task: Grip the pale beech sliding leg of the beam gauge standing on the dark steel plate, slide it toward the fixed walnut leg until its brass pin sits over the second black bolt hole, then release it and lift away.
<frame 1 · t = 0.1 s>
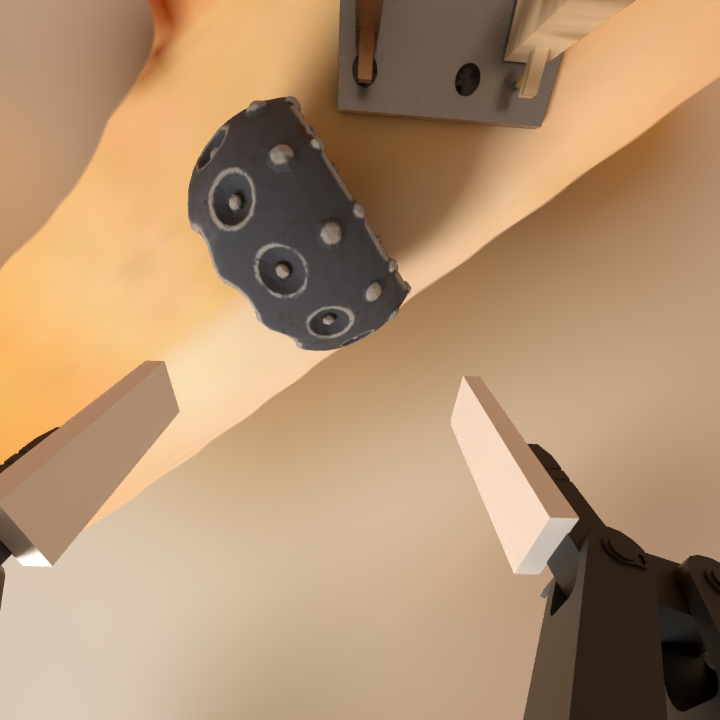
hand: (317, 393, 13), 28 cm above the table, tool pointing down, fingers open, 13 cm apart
dark studded bowl: (323, 231, 36), on the table
sliding leg: (562, 18, 22), point 7 cm above the table, slide at 6.5 cm
gauge: (454, 48, 28), on the table
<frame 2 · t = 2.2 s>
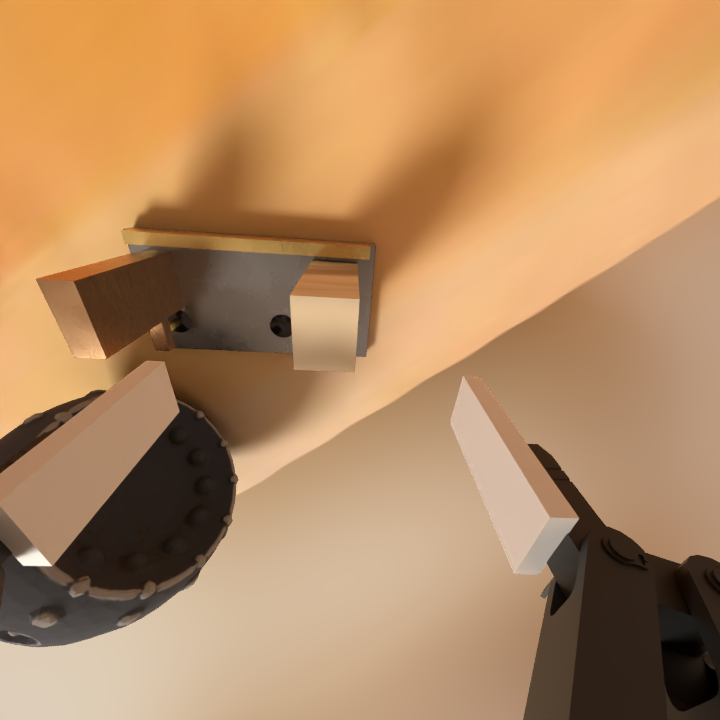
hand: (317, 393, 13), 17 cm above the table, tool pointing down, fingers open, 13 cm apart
dark studded bowl: (179, 422, 36), on the table
sliding leg: (329, 326, 23), point 6 cm above the table, slide at 6.5 cm
gauge: (267, 296, 28), on the table
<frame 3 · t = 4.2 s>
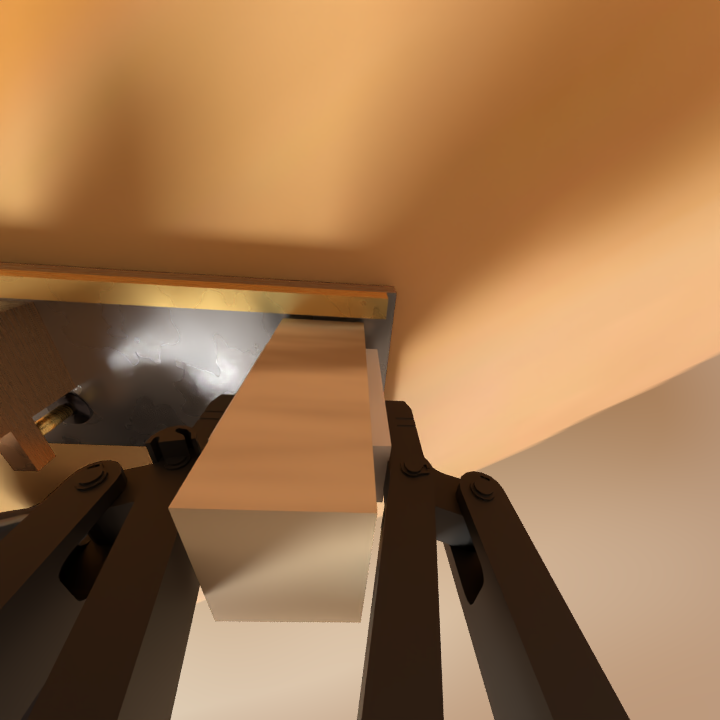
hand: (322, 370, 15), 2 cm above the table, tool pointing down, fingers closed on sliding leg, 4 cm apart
dark studded bowl: (105, 526, 25), on the table
sliding leg: (311, 456, 12), point 7 cm above the table, slide at 6.5 cm, touching gripper
gauge: (216, 367, 17), on the table
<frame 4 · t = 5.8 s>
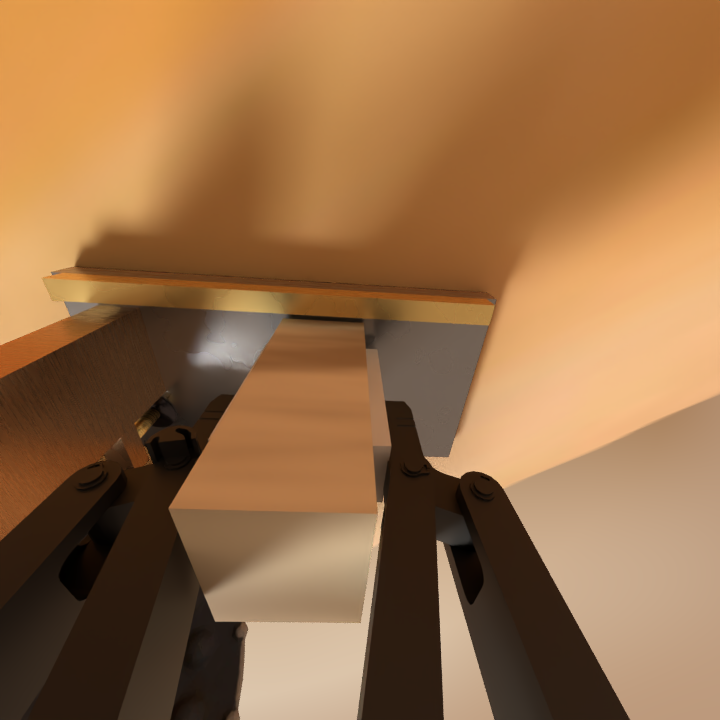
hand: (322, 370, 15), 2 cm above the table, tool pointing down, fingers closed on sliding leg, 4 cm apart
dark studded bowl: (164, 528, 25), on the table
sliding leg: (311, 456, 12), point 7 cm above the table, slide at 1.5 cm, touching gripper
gauge: (300, 371, 17), on the table
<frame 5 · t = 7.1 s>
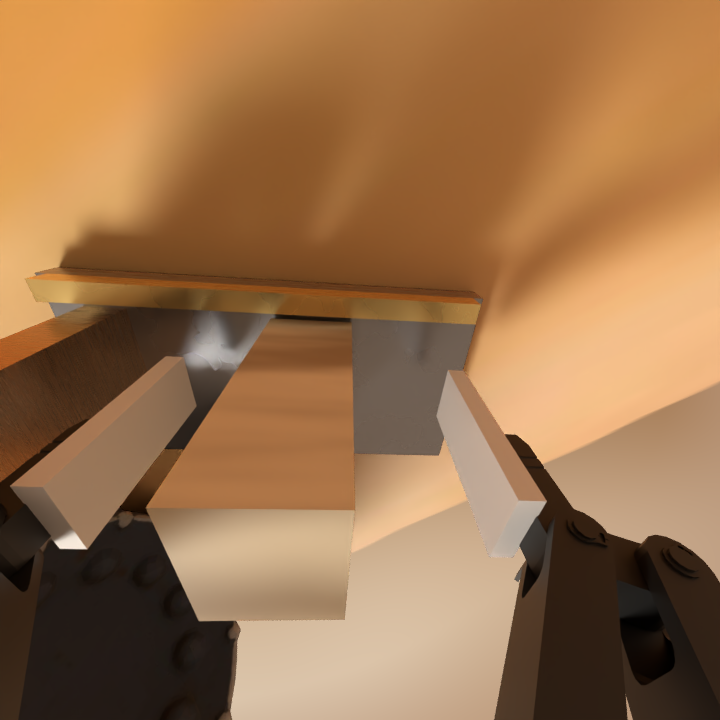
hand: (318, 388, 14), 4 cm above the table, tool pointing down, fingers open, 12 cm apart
dark studded bowl: (155, 530, 25), on the table
sliding leg: (299, 455, 12), point 6 cm above the table, slide at 1.5 cm
gauge: (290, 371, 18), on the table
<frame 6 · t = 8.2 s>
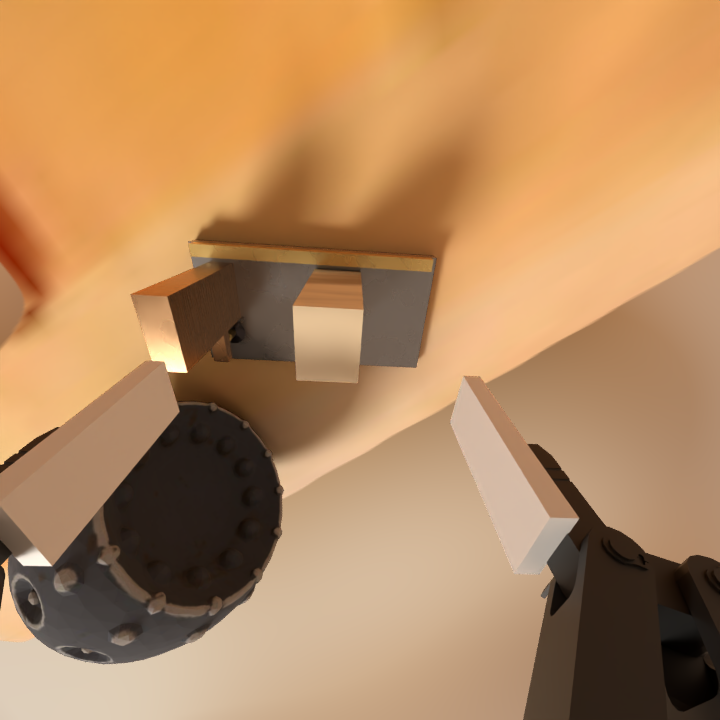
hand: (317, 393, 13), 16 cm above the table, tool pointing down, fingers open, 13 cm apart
dark studded bowl: (221, 432, 36), on the table
sliding leg: (332, 336, 23), point 6 cm above the table, slide at 1.5 cm
gauge: (321, 307, 28), on the table
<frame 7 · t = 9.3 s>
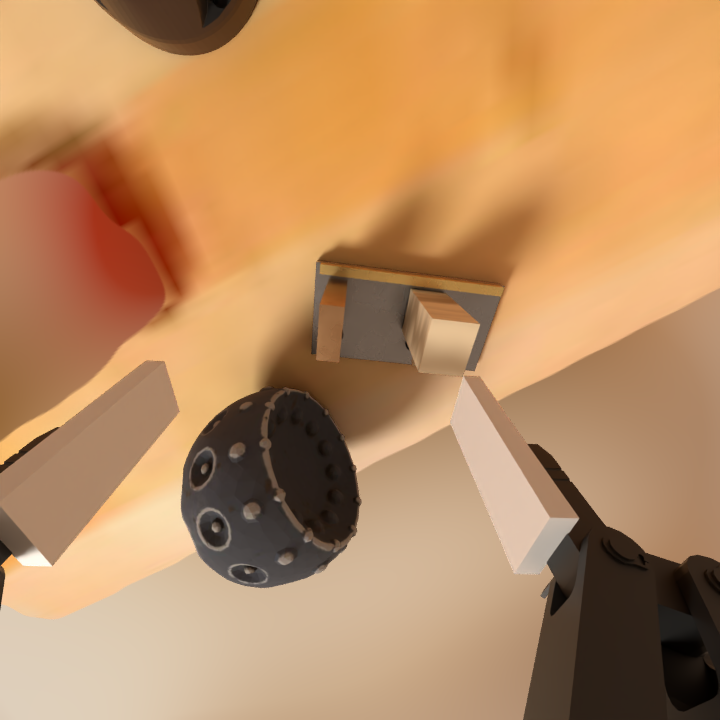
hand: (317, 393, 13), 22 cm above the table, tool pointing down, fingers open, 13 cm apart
dark studded bowl: (298, 418, 42), on the table
sliding leg: (430, 341, 29), point 7 cm above the table, slide at 1.5 cm
gauge: (405, 318, 35), on the table
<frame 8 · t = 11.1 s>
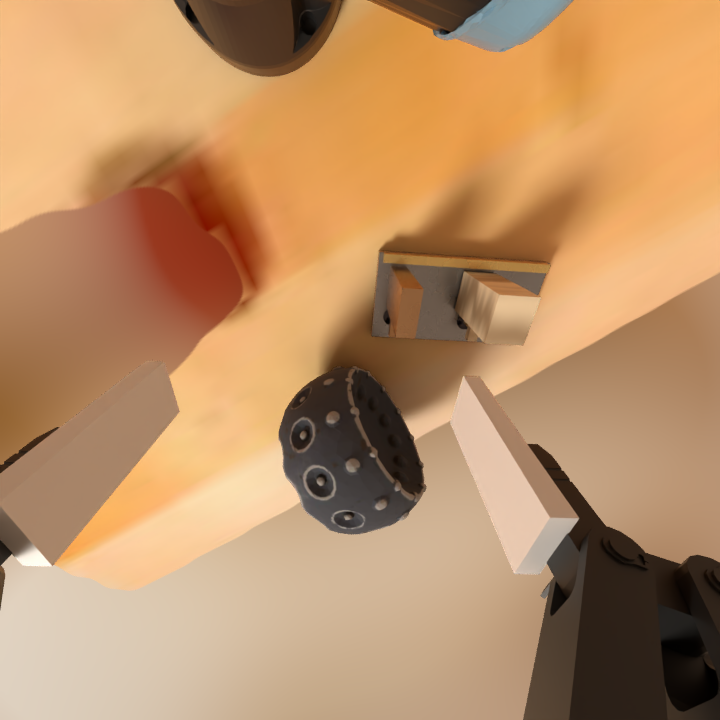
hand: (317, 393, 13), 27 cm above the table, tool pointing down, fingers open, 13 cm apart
dark studded bowl: (355, 397, 47), on the table
sliding leg: (486, 317, 33), point 6 cm above the table, slide at 1.5 cm
gauge: (456, 299, 39), on the table
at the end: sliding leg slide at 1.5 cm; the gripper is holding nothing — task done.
